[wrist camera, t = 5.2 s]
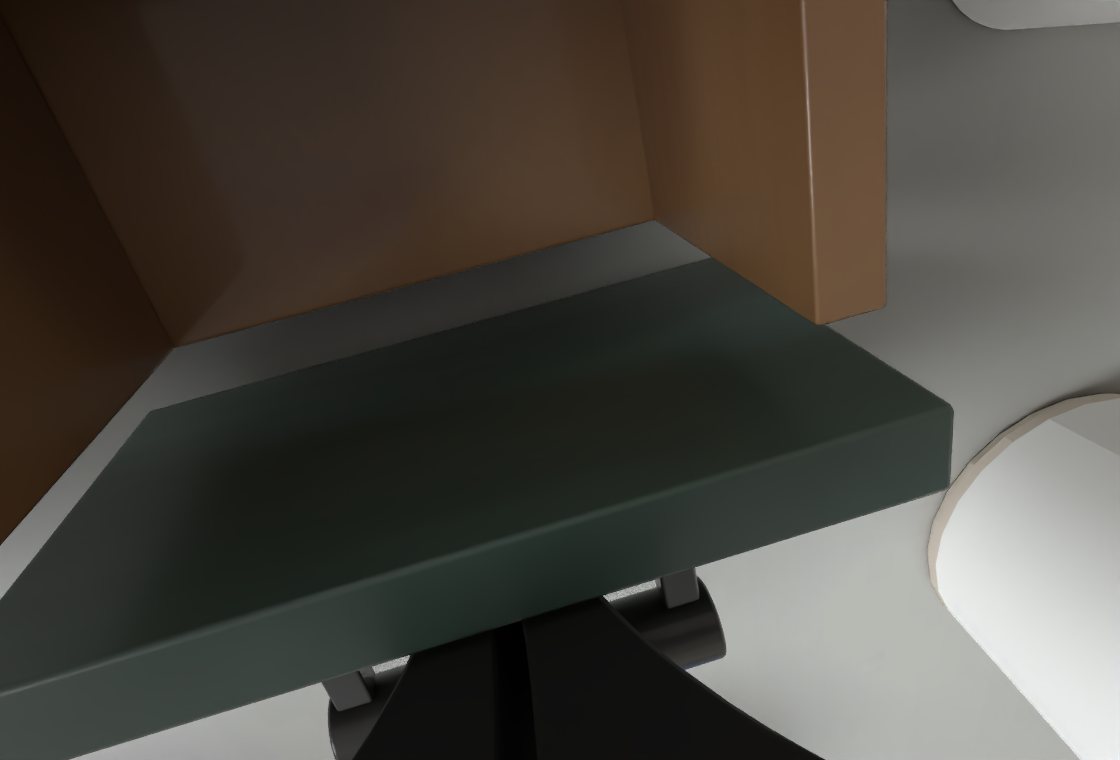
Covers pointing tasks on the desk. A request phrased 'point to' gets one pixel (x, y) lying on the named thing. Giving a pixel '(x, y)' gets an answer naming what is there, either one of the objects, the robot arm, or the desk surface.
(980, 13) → the tube
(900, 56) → the desk surface
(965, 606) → the mug
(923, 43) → the desk surface
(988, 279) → the desk surface
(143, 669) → the drawer
